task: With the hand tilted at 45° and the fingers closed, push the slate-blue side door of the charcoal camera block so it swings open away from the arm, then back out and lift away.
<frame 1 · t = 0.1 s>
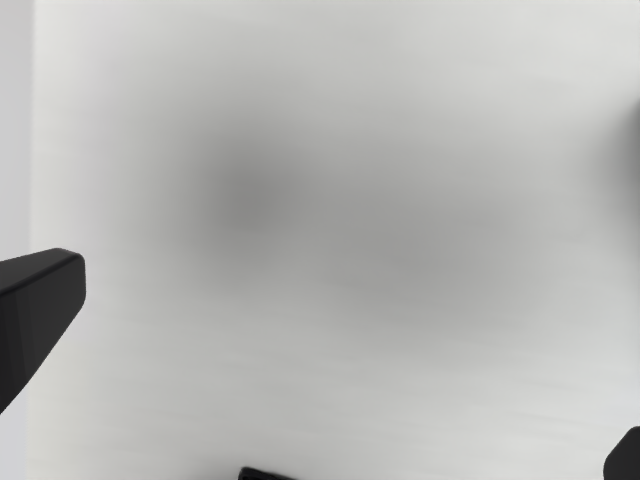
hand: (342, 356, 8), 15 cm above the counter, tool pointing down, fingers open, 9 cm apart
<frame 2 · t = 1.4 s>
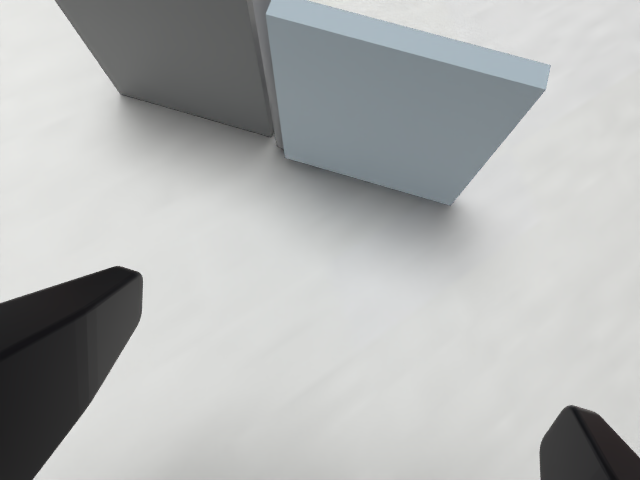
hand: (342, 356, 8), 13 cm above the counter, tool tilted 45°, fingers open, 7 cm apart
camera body: (284, 147, 23), on the counter
side door: (375, 116, 18), point 5 cm above the counter, hinge at 0.0°
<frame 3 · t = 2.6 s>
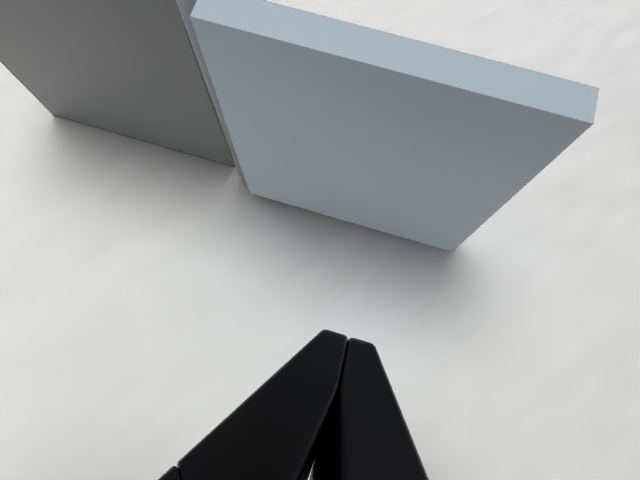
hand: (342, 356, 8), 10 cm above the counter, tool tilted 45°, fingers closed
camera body: (250, 178, 19), on the counter
side door: (355, 149, 14), point 5 cm above the counter, hinge at 0.0°
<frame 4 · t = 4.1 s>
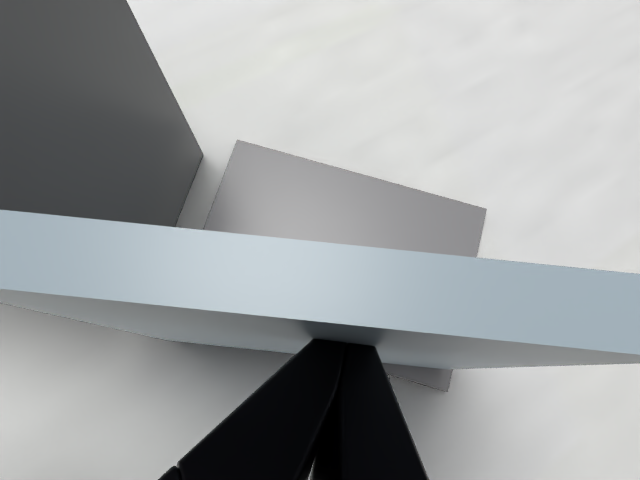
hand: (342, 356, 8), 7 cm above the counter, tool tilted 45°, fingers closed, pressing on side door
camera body: (167, 313, 15), on the counter
side door: (286, 312, 9), point 5 cm above the counter, hinge at 10.8°, touching gripper
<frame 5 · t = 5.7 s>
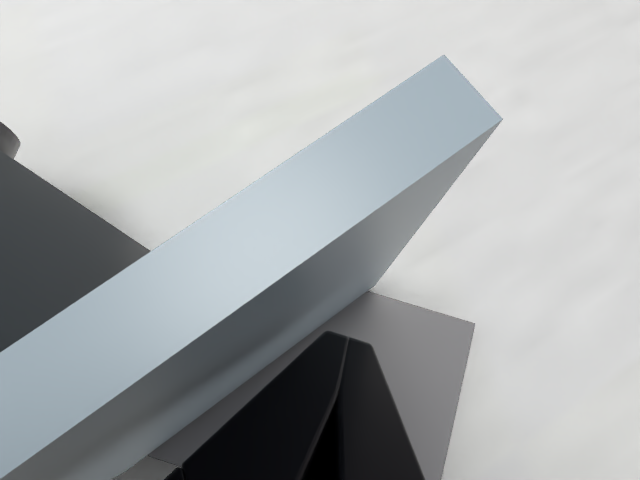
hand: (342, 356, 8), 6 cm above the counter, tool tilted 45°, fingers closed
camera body: (108, 447, 13), on the counter
side door: (185, 364, 8), point 5 cm above the counter, hinge at 53.2°, touching gripper
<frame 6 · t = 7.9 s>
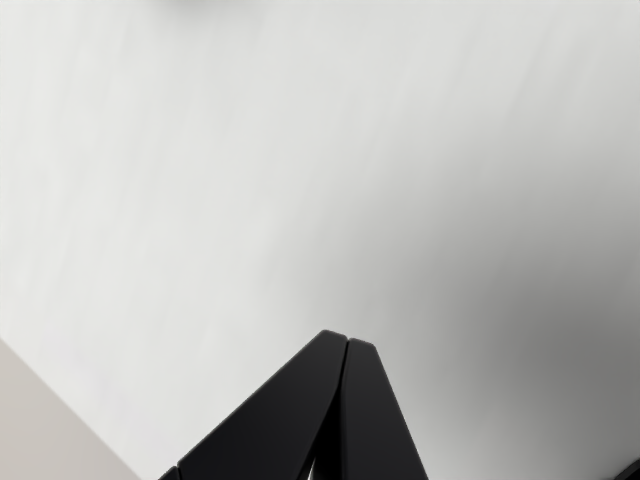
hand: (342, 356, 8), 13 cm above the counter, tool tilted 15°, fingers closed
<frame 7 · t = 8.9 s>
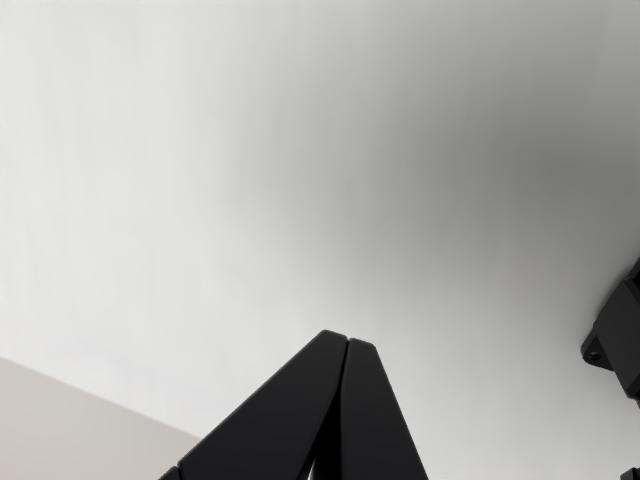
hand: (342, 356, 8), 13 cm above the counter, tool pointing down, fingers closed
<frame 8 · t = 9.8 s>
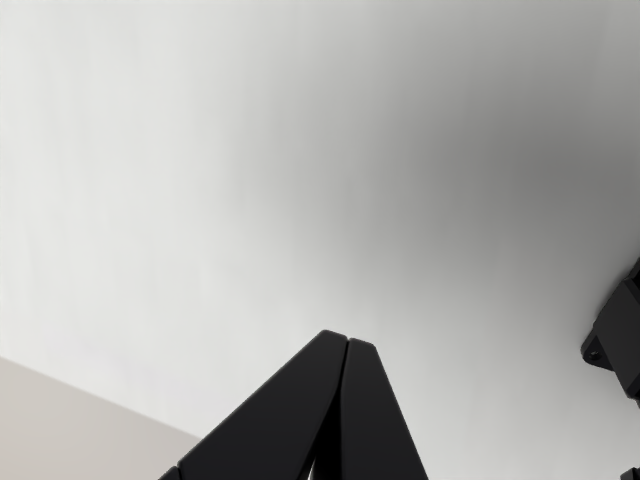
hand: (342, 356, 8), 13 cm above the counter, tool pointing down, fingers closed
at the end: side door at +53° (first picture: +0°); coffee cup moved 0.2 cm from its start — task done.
